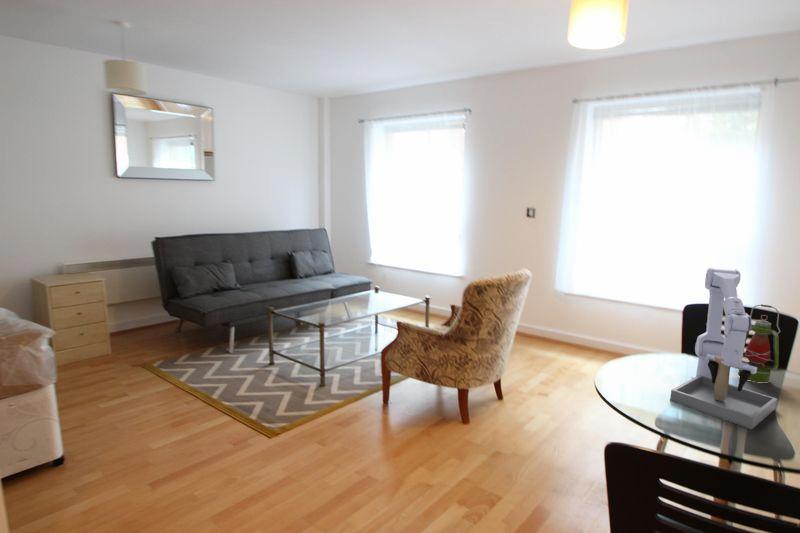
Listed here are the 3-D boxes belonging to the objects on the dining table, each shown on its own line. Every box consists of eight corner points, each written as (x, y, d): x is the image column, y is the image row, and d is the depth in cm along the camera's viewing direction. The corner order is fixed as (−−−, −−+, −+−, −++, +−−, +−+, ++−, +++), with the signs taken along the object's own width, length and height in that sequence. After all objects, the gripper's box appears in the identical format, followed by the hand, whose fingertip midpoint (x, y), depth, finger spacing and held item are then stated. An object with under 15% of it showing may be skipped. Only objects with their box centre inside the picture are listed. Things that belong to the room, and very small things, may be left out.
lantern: (730, 377, 190) (743, 303, 185) (733, 369, 199) (745, 299, 193) (774, 387, 182) (788, 311, 176) (775, 379, 190) (789, 306, 184)
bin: (697, 384, 181) (699, 374, 181) (775, 409, 163) (777, 398, 162) (669, 400, 167) (671, 389, 166) (751, 429, 148) (753, 417, 147)
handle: (727, 404, 163) (734, 362, 160) (706, 398, 168) (712, 357, 165) (732, 401, 166) (738, 359, 163) (711, 394, 171) (717, 354, 168)
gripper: (704, 344, 166) (698, 381, 168) (754, 357, 154) (747, 397, 157) (712, 341, 170) (706, 377, 172) (761, 353, 159) (754, 392, 161)
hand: (726, 386), depth 165 cm, fingers open, 7 cm apart
